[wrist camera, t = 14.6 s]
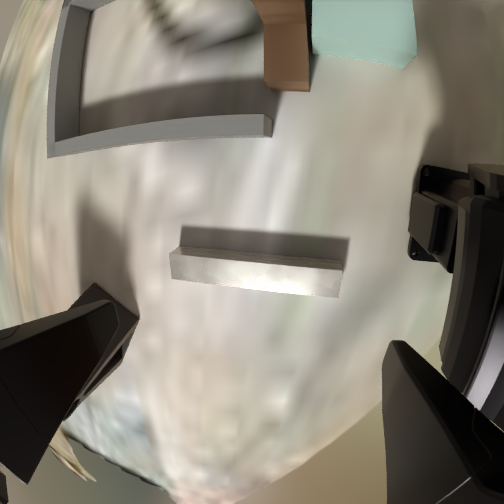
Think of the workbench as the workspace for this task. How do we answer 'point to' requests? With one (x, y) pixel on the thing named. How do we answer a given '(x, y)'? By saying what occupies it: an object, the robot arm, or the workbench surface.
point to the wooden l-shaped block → (285, 44)
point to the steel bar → (257, 271)
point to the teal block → (365, 30)
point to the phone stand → (115, 348)
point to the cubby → (67, 126)
